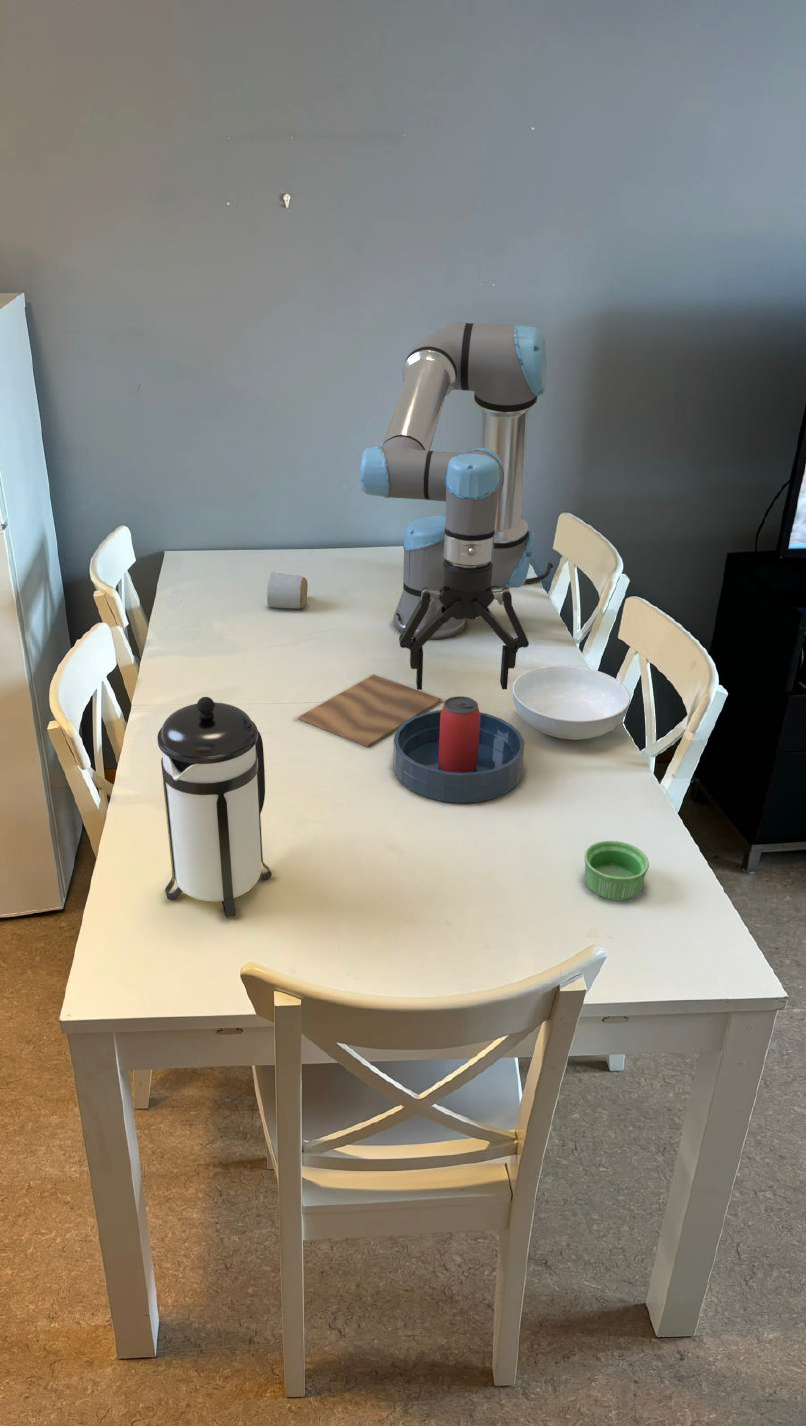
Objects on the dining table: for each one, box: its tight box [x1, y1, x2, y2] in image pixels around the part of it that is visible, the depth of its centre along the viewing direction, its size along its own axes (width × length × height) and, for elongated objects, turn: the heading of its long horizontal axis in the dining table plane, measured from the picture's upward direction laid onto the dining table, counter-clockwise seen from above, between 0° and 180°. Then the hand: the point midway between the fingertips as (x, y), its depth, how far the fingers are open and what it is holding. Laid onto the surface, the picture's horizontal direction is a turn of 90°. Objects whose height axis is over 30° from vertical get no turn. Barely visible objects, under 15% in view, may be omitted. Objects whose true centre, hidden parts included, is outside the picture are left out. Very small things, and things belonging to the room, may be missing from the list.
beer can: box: [438, 695, 480, 773], centre depth 177 cm, size 7×7×12 cm
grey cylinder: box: [266, 572, 308, 610], centre depth 238 cm, size 11×8×8 cm
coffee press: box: [156, 696, 273, 919], centre depth 145 cm, size 17×16×30 cm
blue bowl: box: [392, 709, 525, 804], centre depth 179 cm, size 21×21×6 cm
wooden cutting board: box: [298, 674, 442, 748], centre depth 197 cm, size 22×16×1 cm
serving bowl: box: [511, 664, 631, 741], centre depth 193 cm, size 21×21×7 cm
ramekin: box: [584, 840, 650, 901], centre depth 152 cm, size 9×9×4 cm
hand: (461, 686), depth 172 cm, fingers open, 13 cm apart
